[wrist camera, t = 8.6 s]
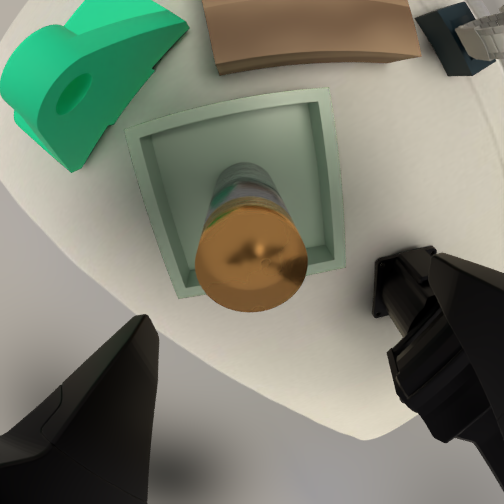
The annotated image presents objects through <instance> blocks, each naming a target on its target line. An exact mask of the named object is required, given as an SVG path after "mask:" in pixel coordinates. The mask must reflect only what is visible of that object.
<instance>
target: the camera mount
mask: <svg viewBox="0 0 504 504" xmlns="http://www.w3.org/2000/svg"><path fill="white" fill-rule="evenodd" d="M188 29H189V26H188V24H187V23H186V21H184V20H183V19H181V18H180V17H178V16H177V15H175V14H173V13H172V12H170V11H169V10H167V9H165V8H164V7H162V6H160V5H159V4H157V3H155V2H154V1H152V0H85V1H84V2H83V3H82V4H81V5H80V6H79V8H78V9H77V10H76V11H75V13H74V14H73V15H72V16H71V18H70V19H69V20H68V21H67V23H66V24H65V25H64V26H61V25H49V26H46V27H43V28H41V29H39V30H37V31H36V32H34V33H32V34H31V35H30V36H28V37H27V38H26V39H25V40H24V41H23V42H22V43H21V44H20V45H19V46H18V47H17V48H16V50H15V51H14V52H13V54H12V55H11V56H10V58H9V60H8V61H7V63H6V65H5V68H4V70H3V73H2V76H1V80H0V93H1V96H2V98H3V99H4V101H6V102H7V103H8V104H9V105H10V106H11V107H12V108H13V109H14V120H15V122H16V124H17V125H18V126H19V127H20V128H21V129H22V130H23V131H24V132H25V133H27V134H28V135H29V136H30V137H31V138H32V139H33V140H34V141H35V142H37V143H38V144H39V145H40V146H41V147H42V148H43V149H44V150H46V151H47V152H48V153H49V154H50V155H51V156H52V157H53V158H55V159H56V160H57V161H58V162H59V163H60V164H62V165H63V166H64V167H65V168H66V169H67V170H69V171H70V172H71V173H72V172H74V171H77V170H79V169H81V168H82V167H83V165H84V163H85V162H86V160H87V158H88V157H89V155H90V153H91V152H92V150H93V148H94V147H95V145H96V143H97V142H98V140H99V139H100V137H101V136H102V134H103V133H104V131H105V129H106V128H107V126H108V125H113V124H114V123H115V122H116V120H117V119H118V117H119V116H120V115H121V113H122V112H123V110H124V109H125V108H126V106H127V105H128V104H129V102H130V101H131V100H132V98H133V97H134V96H135V95H136V93H137V92H138V91H139V89H140V88H141V87H142V86H143V85H144V83H145V82H146V81H147V80H148V78H149V77H150V76H151V75H152V74H153V73H154V71H155V70H153V69H152V68H153V66H154V65H155V64H156V63H157V62H158V61H159V60H160V58H161V57H162V56H163V55H164V54H165V53H166V52H167V51H168V50H169V49H170V48H171V47H172V46H173V44H174V43H175V42H176V41H177V40H178V39H179V38H180V37H181V36H182V35H183V34H184V33H185V32H186V31H187V30H188Z"/></svg>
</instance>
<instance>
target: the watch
mask: <svg viewBox="0 0 504 504" xmlns="http://www.w3.org/2000/svg"><path fill="white" fill-rule="evenodd" d="M499 11H500V12H502V13H499V14H494V15H490V16H488V17H487V16H486V17H483V18H480V19H475V18H474V16H473V14H472V12H471V11H470V9H469V7H468V6H467V4H466V3H465V2H461V3H457V4H454V5H450V6H447V7H444V8H441V9H438V10H435V11H432V12H430V13H427V14H424V15H422V16H419V17H417V18H415V19H416V21H417V22H418V24H419V26H420V27H421V29H422V30H423V32H424V33H425V35H426V37H427V38H428V40H429V42H430V43H431V45H432V47H433V48H434V50H435V52H436V54H437V56H438V57H439V59H440V61H441V63H442V65H443V67H444V69H445V71H446V73H447V75H448V76H473V75H475V74H476V73H478V72H480V71H481V70H483V69H484V68H486V67H488V66H489V65H491V64H492V63H494V62H496V59H504V5H503V6H502V7H501V8H500V9H499ZM496 15H497V16H496ZM488 18H489V19H488ZM498 19H499V20H498ZM489 20H490V21H489ZM496 21H497V22H496ZM497 23H498V24H497ZM498 25H499V26H498Z"/></svg>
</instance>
